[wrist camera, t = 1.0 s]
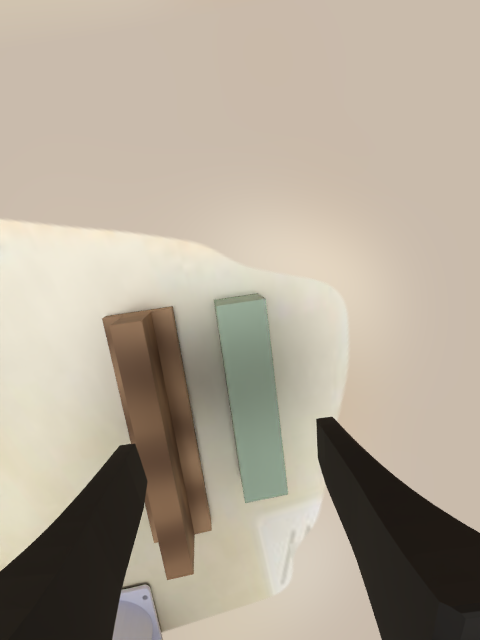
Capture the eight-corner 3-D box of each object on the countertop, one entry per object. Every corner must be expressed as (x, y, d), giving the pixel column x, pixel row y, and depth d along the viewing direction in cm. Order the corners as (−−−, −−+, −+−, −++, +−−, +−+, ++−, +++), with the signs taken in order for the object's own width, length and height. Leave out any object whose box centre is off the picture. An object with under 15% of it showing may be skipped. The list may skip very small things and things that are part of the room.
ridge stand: (211, 520, 28) (212, 569, 24) (155, 533, 28) (147, 584, 23) (172, 306, 24) (165, 317, 19) (106, 316, 23) (84, 329, 19)
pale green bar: (277, 465, 28) (288, 494, 25) (240, 473, 28) (245, 503, 24) (256, 293, 25) (265, 298, 21) (213, 299, 24) (215, 306, 21)
